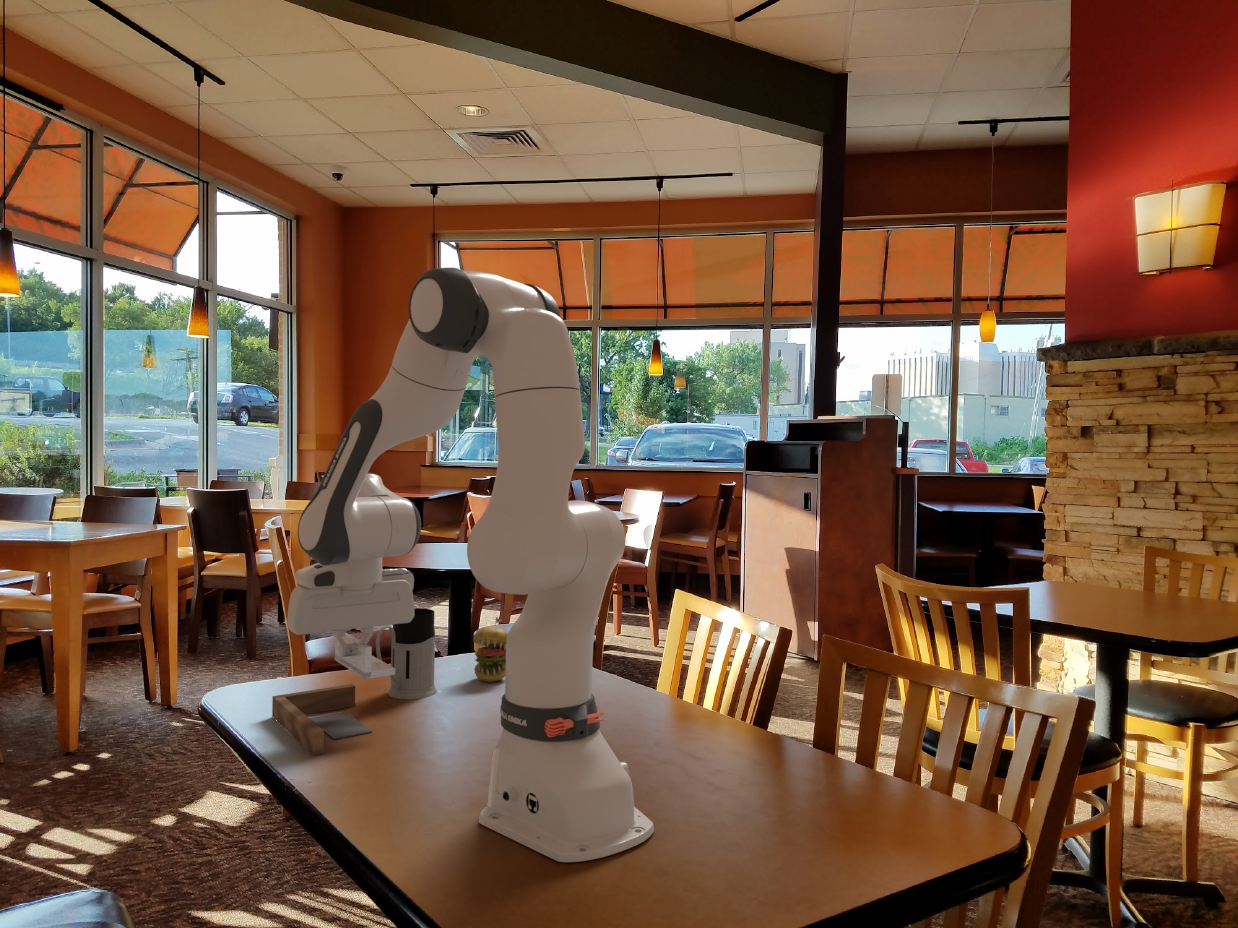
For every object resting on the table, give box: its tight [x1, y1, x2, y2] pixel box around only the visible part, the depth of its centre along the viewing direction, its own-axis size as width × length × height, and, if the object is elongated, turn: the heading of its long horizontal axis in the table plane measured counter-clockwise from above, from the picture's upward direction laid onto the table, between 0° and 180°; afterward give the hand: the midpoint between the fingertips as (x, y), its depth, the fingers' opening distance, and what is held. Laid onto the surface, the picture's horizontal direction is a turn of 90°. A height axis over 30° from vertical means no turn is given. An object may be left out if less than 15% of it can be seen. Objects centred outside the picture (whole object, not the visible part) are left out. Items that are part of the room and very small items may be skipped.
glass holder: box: [375, 607, 437, 700], centre depth 153 cm, size 9×14×15 cm, turn 155°
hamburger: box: [472, 616, 509, 683], centre depth 165 cm, size 8×7×12 cm
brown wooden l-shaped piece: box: [271, 683, 373, 757], centre depth 135 cm, size 22×14×4 cm, turn 38°
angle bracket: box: [334, 631, 395, 680], centre depth 138 cm, size 14×5×5 cm, turn 38°
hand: (352, 655), depth 137 cm, fingers closed on angle bracket
